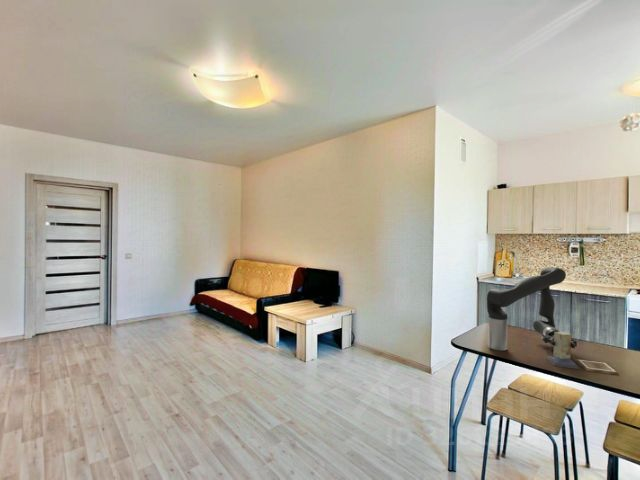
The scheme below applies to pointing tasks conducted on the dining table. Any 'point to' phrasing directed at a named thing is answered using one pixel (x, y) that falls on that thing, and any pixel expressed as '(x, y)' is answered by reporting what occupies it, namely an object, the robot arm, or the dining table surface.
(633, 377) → the dining table surface
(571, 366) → the ink pad
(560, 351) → the skincare box
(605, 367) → the marked board
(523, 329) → the dining table surface
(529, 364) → the dining table surface
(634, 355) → the dining table surface
